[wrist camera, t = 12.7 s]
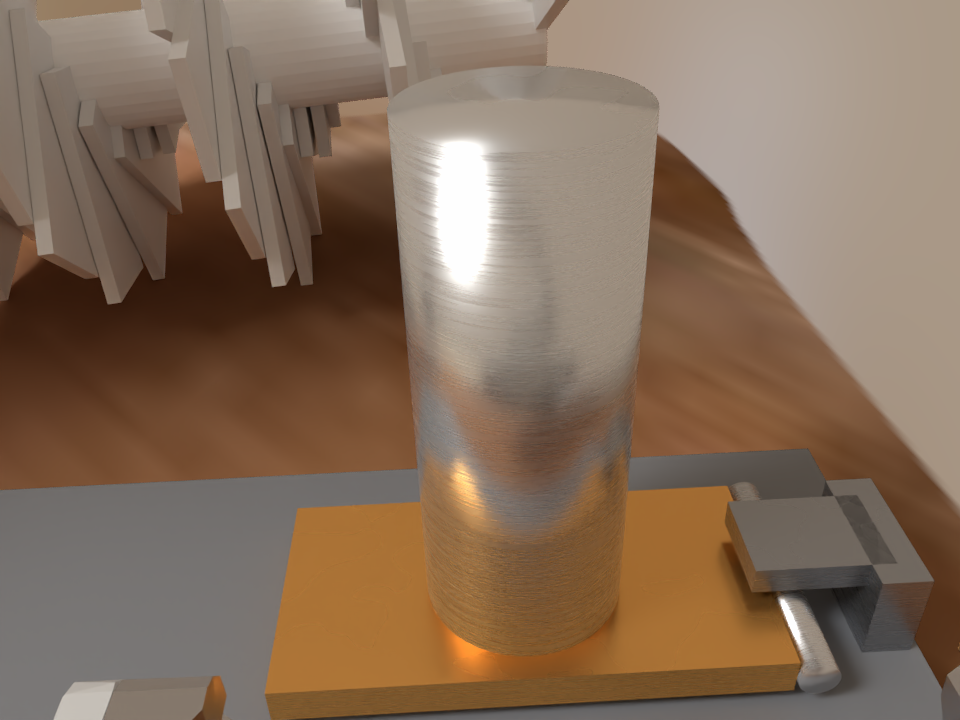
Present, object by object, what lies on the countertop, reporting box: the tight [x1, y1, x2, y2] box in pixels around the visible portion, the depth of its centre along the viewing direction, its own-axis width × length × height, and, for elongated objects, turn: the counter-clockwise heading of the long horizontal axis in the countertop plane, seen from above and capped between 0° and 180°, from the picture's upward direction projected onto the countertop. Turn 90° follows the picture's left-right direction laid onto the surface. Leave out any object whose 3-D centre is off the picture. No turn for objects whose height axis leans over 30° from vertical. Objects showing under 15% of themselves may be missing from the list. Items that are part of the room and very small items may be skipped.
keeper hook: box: [725, 478, 934, 653], centre depth 19 cm, size 3×3×2 cm
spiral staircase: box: [0, 0, 569, 304], centre depth 33 cm, size 18×18×25 cm
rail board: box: [0, 449, 943, 720], centre depth 20 cm, size 25×10×2 cm, turn 93°
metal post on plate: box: [265, 66, 841, 720], centre depth 16 cm, size 11×5×11 cm, turn 93°
